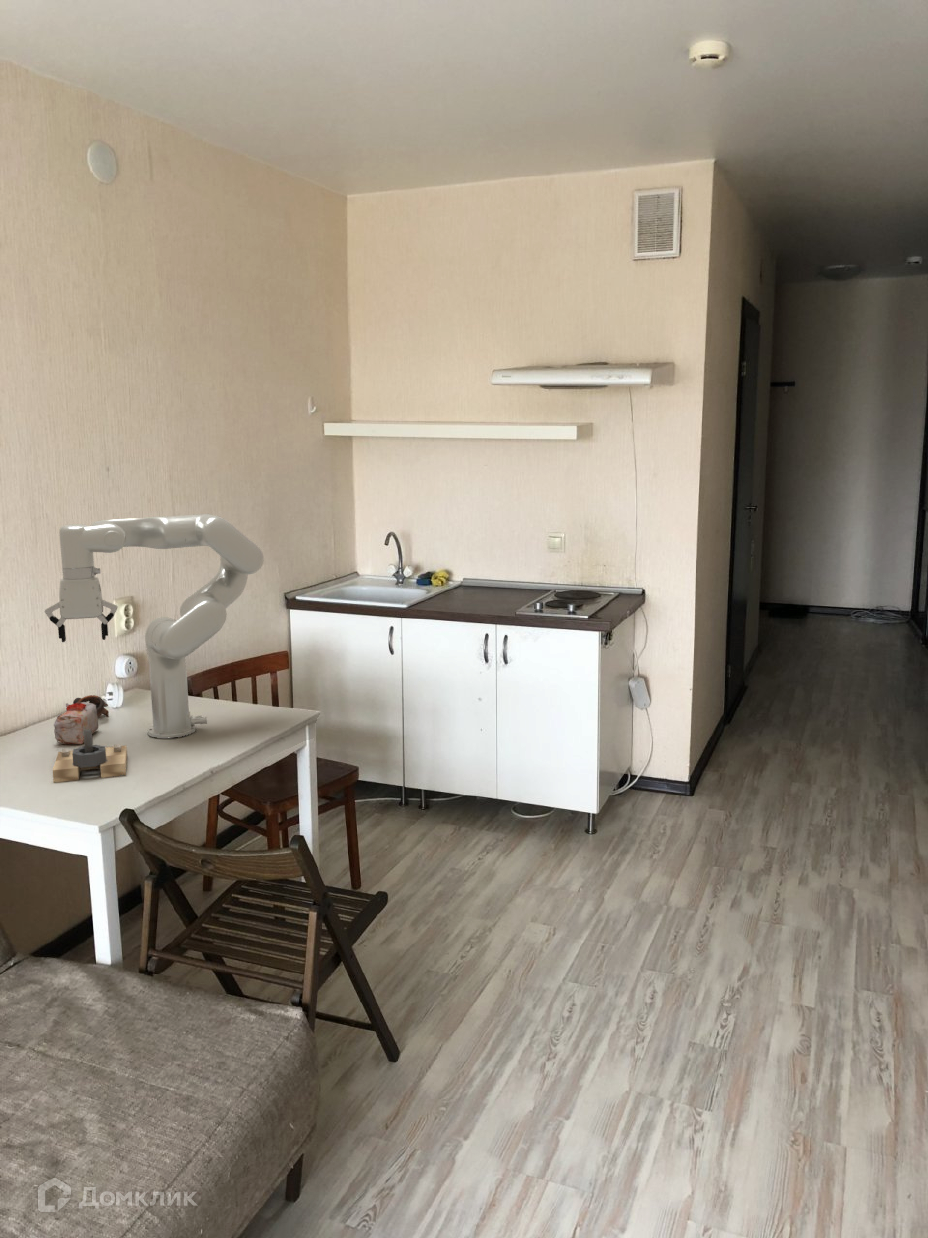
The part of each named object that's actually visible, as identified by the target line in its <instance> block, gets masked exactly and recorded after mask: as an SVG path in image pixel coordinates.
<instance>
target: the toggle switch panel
mask: <svg viewBox="0 0 928 1238" xmlns="http://www.w3.org/2000/svg"><path fill="white" fill-rule="evenodd" d="M83 732H84V742H83V743H84V746H85V753H93V745H94V744H93V734H92V730H91V729H85V730H83ZM105 749H106V762H105V763H103V764H100V765H98V766H93V767H78V766H73V755H72V753H73V750H74V749H73V750H70V749H69V748H65V749H61V751H58V752H57V754H56V759H55V762H54V765H53V767H52V777H53V783H61V782H63V783H64V782H71V781H79V779H80V776H81V772H82V771H86V770H87V771H88V770H96V769H97V770H99V769H100V777H101V779H102V778H103V779H104V778H109V777H110V778H111V777H112V778H114V777H121V776H120V775H124V776H126V775H127V767H126V766H128V765H127V764H128V747H127V745H122V744H120V743H119V744H113V746H108V747H106V746H105ZM98 768H99V769H98ZM113 776H114V777H113Z"/></svg>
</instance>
